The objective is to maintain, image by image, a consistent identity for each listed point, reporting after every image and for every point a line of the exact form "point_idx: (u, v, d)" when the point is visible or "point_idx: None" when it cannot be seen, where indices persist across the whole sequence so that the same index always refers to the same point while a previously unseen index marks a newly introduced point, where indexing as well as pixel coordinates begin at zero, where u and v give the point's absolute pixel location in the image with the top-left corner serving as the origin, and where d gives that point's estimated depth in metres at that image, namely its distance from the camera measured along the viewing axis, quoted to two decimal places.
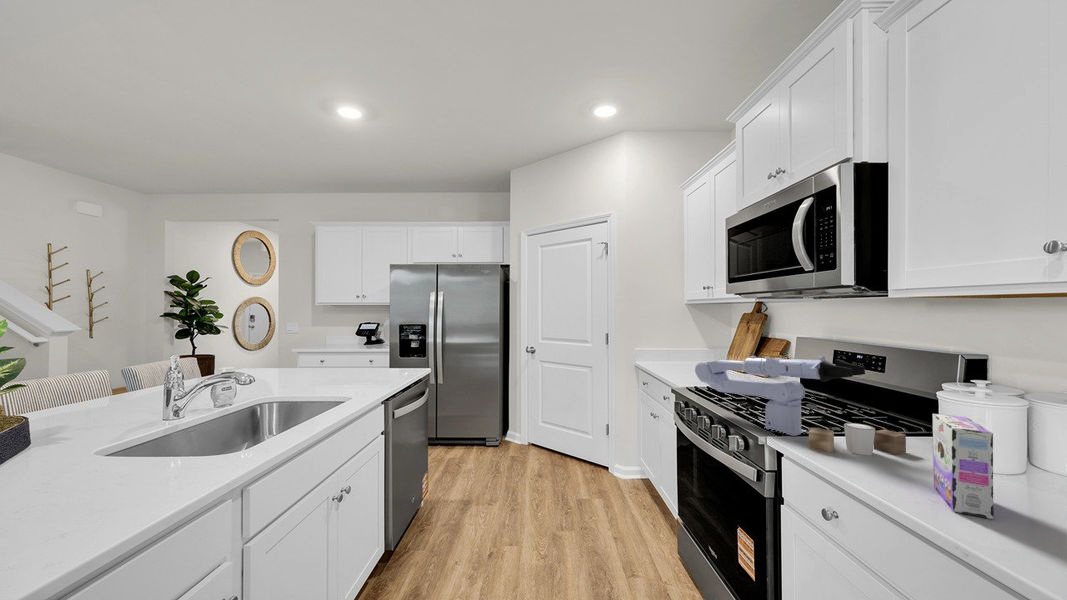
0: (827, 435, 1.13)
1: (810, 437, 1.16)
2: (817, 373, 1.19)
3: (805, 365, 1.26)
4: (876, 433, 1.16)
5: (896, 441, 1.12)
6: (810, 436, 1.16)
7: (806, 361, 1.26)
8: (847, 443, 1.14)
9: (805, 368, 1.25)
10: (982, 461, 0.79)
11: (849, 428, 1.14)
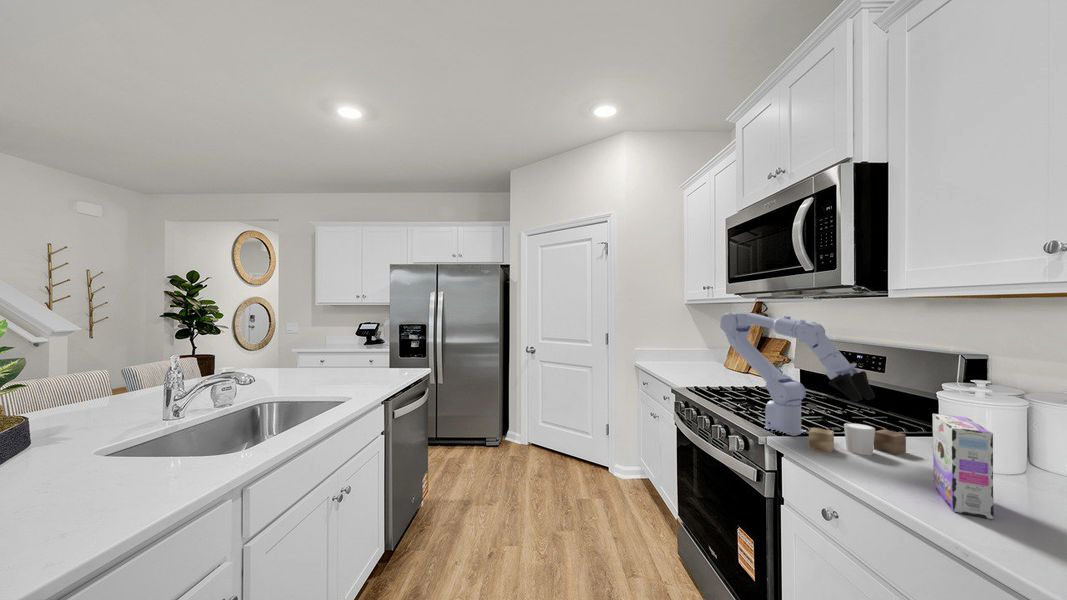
0: (827, 435, 1.13)
1: (810, 437, 1.16)
2: (832, 378, 1.15)
3: (832, 358, 1.19)
4: (876, 433, 1.16)
5: (896, 441, 1.12)
6: (810, 436, 1.16)
7: (837, 356, 1.19)
8: (847, 443, 1.14)
9: (829, 360, 1.19)
10: (982, 461, 0.79)
11: (849, 428, 1.14)
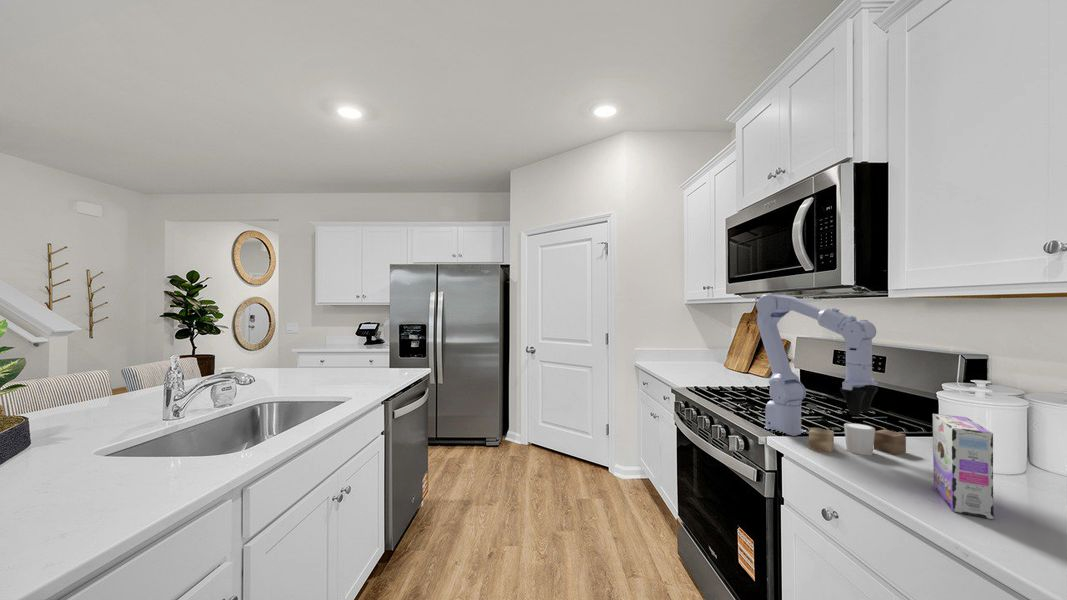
0: (827, 435, 1.13)
1: (810, 437, 1.16)
2: (845, 389, 1.11)
3: (860, 369, 1.12)
4: (876, 433, 1.16)
5: (896, 441, 1.12)
6: (810, 436, 1.16)
7: (866, 369, 1.12)
8: (847, 443, 1.14)
9: (855, 369, 1.13)
10: (982, 461, 0.79)
11: (849, 428, 1.14)
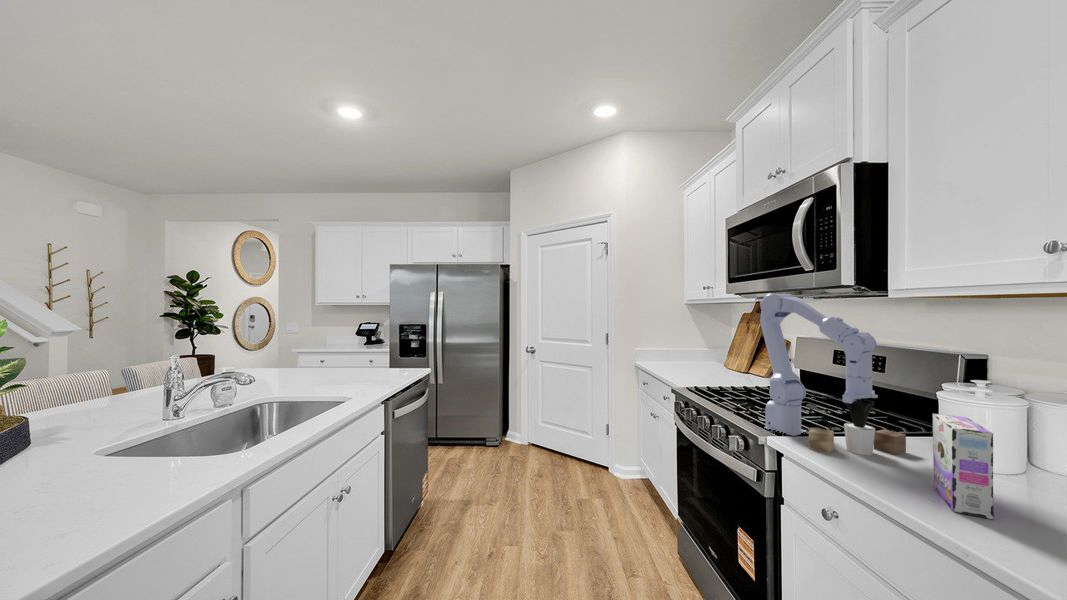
0: (827, 435, 1.13)
1: (810, 437, 1.16)
2: None
3: (860, 382, 1.12)
4: (876, 433, 1.16)
5: (896, 441, 1.12)
6: (810, 436, 1.16)
7: (866, 382, 1.12)
8: (847, 443, 1.14)
9: (855, 382, 1.13)
10: (982, 461, 0.79)
11: (849, 428, 1.14)
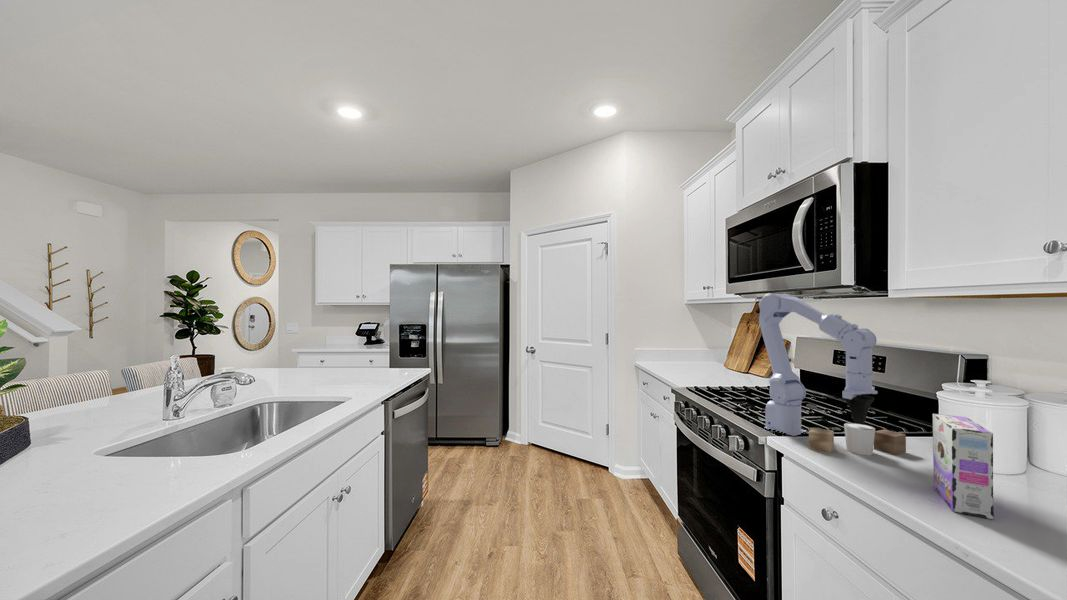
0: (827, 435, 1.13)
1: (810, 437, 1.16)
2: (845, 398, 1.11)
3: (860, 378, 1.12)
4: (876, 433, 1.16)
5: (896, 441, 1.12)
6: (810, 436, 1.16)
7: (866, 378, 1.12)
8: (847, 443, 1.14)
9: (855, 378, 1.13)
10: (982, 461, 0.79)
11: (849, 428, 1.14)
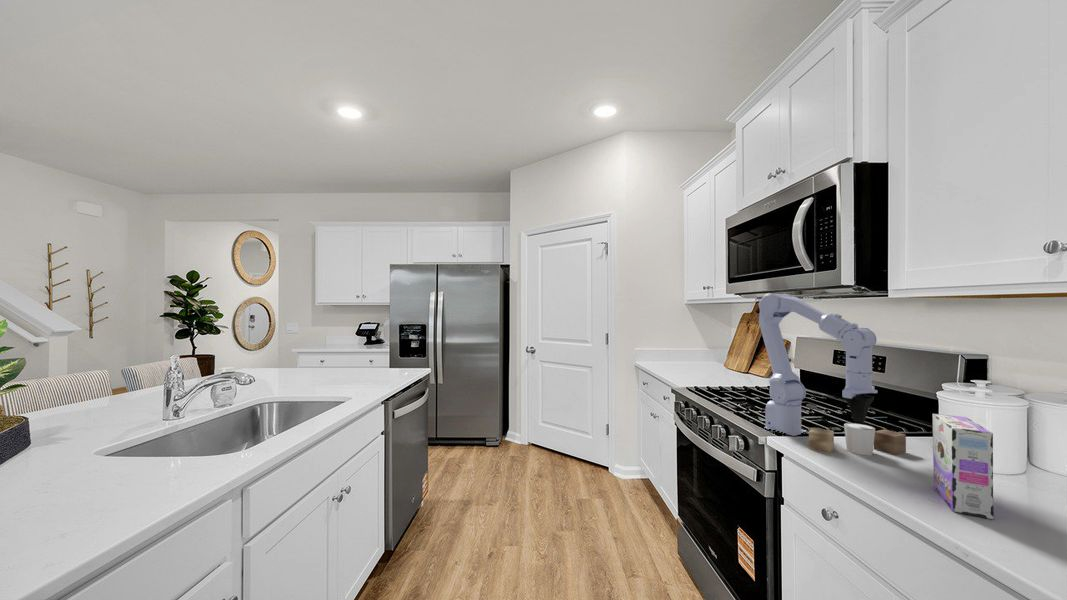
0: (827, 435, 1.13)
1: (810, 437, 1.16)
2: None
3: (860, 377, 1.12)
4: (876, 433, 1.16)
5: (896, 441, 1.12)
6: (810, 436, 1.16)
7: (866, 377, 1.12)
8: (847, 443, 1.14)
9: (855, 377, 1.13)
10: (982, 461, 0.79)
11: (849, 428, 1.14)
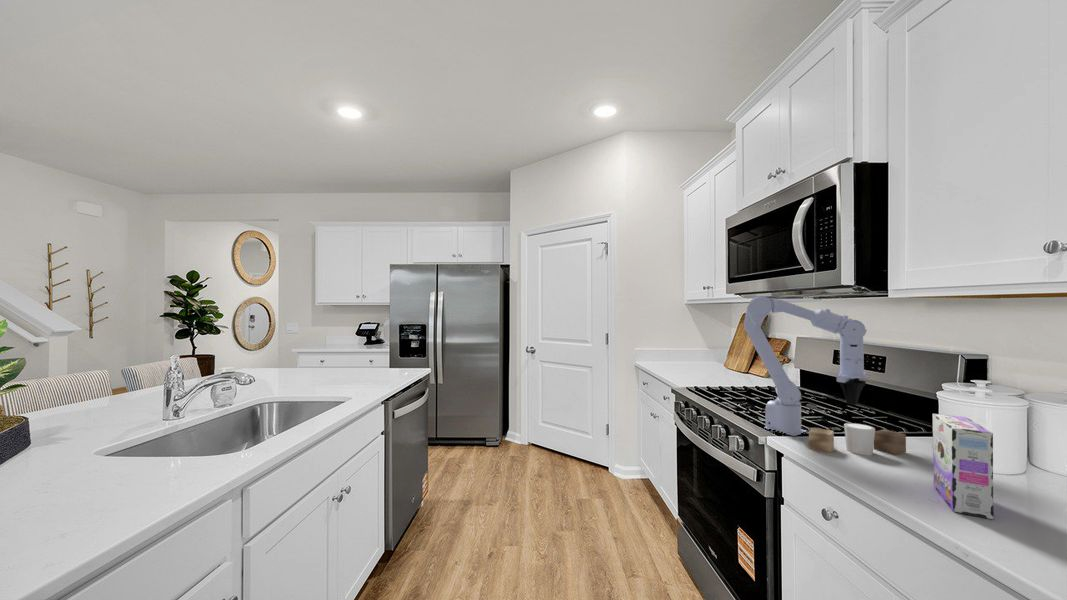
0: (827, 435, 1.13)
1: (810, 437, 1.16)
2: (839, 381, 1.22)
3: (852, 363, 1.23)
4: (876, 433, 1.16)
5: (896, 441, 1.12)
6: (810, 436, 1.16)
7: (858, 363, 1.23)
8: (847, 443, 1.14)
9: (848, 363, 1.24)
10: (982, 461, 0.79)
11: (849, 428, 1.14)
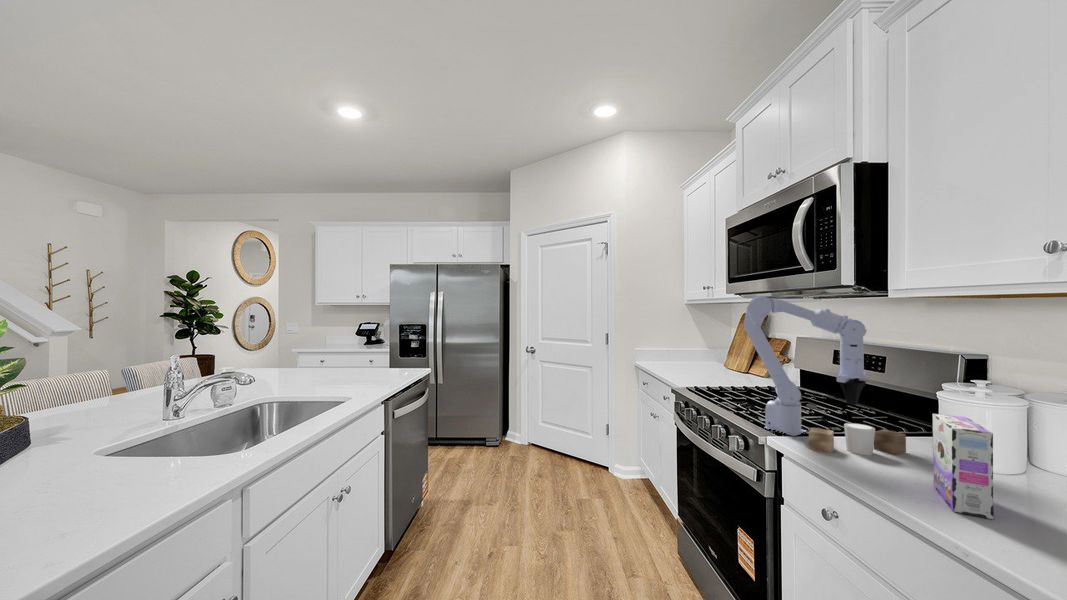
0: (827, 435, 1.13)
1: (810, 437, 1.16)
2: (839, 381, 1.22)
3: (852, 363, 1.23)
4: (876, 433, 1.16)
5: (896, 441, 1.12)
6: (810, 436, 1.16)
7: (858, 363, 1.23)
8: (848, 443, 1.14)
9: (848, 363, 1.24)
10: (982, 461, 0.79)
11: (849, 428, 1.14)
